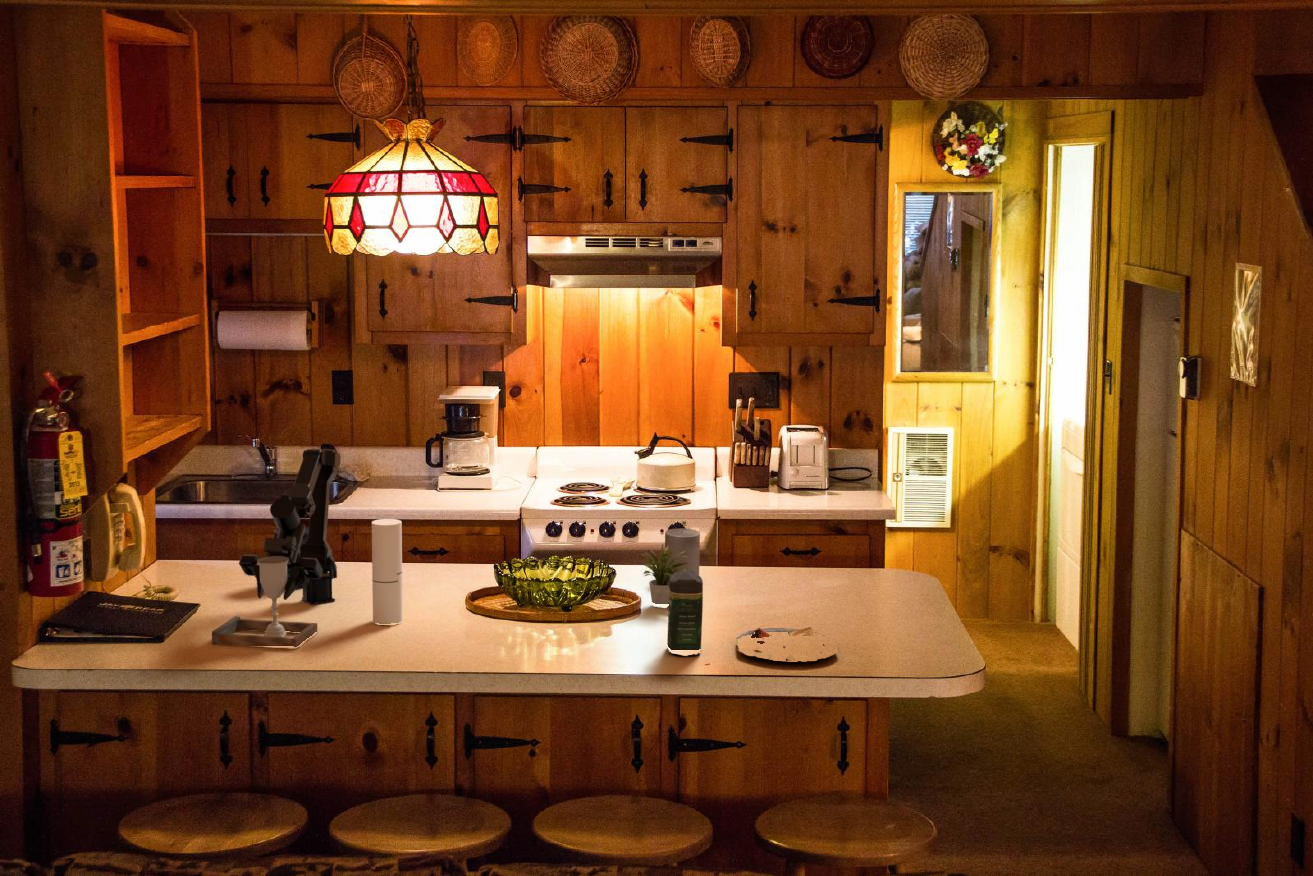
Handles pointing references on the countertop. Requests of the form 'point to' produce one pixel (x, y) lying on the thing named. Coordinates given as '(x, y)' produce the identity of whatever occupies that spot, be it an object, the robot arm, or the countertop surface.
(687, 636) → the coffee jar
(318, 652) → the countertop surface
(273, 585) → the chalice
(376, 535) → the cylindrical container
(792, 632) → the food plate
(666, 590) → the house plant
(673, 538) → the pillar candle
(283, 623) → the rectangular frame
